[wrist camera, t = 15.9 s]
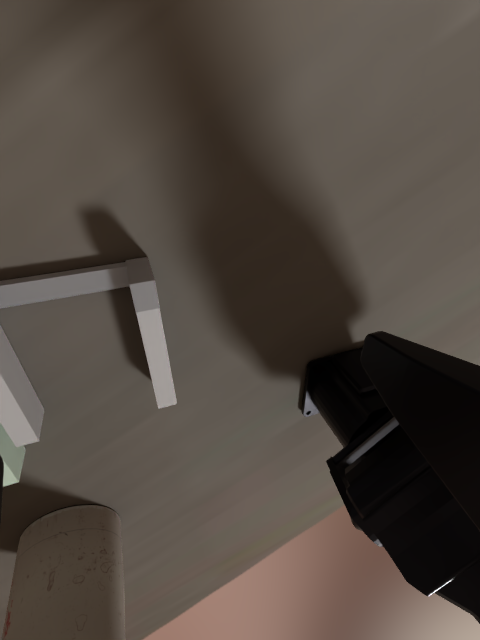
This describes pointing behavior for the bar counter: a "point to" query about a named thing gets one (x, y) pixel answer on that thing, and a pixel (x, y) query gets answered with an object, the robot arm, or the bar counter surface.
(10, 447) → the tray
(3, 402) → the dock
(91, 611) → the thermos bottle
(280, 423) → the bar counter surface
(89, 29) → the bar counter surface
